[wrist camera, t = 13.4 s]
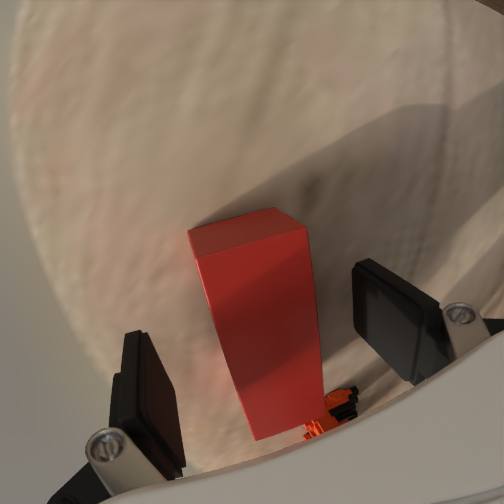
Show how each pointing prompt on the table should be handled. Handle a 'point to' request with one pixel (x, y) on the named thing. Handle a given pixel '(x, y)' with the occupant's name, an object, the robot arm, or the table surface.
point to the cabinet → (494, 4)
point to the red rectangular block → (264, 315)
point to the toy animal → (334, 412)
